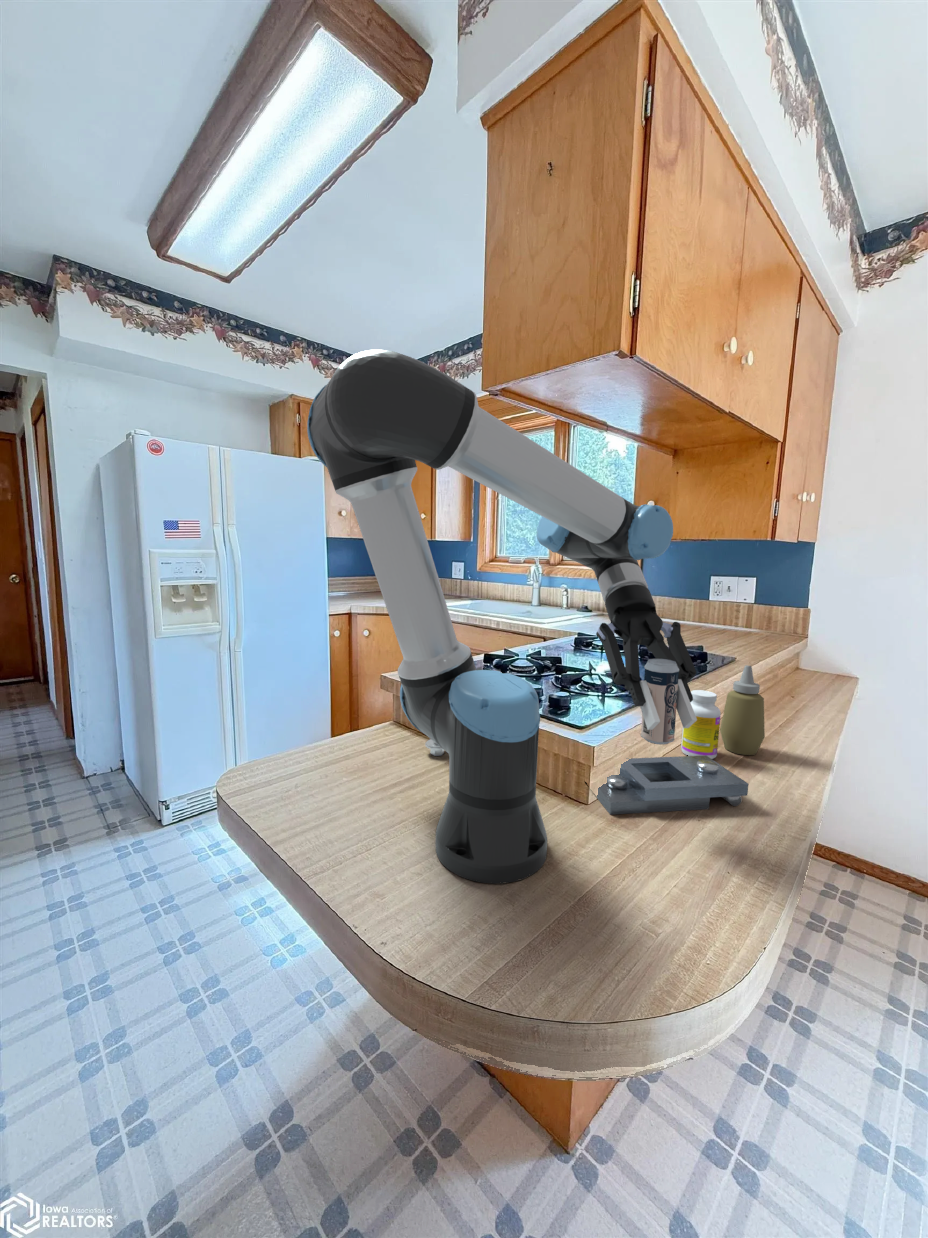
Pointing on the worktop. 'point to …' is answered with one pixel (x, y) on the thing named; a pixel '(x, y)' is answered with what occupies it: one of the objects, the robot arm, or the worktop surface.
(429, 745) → the screw
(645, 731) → the beer can
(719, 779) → the right chain end
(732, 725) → the squeeze bottle
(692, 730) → the supplement bottle
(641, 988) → the worktop surface
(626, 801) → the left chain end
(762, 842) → the worktop surface
